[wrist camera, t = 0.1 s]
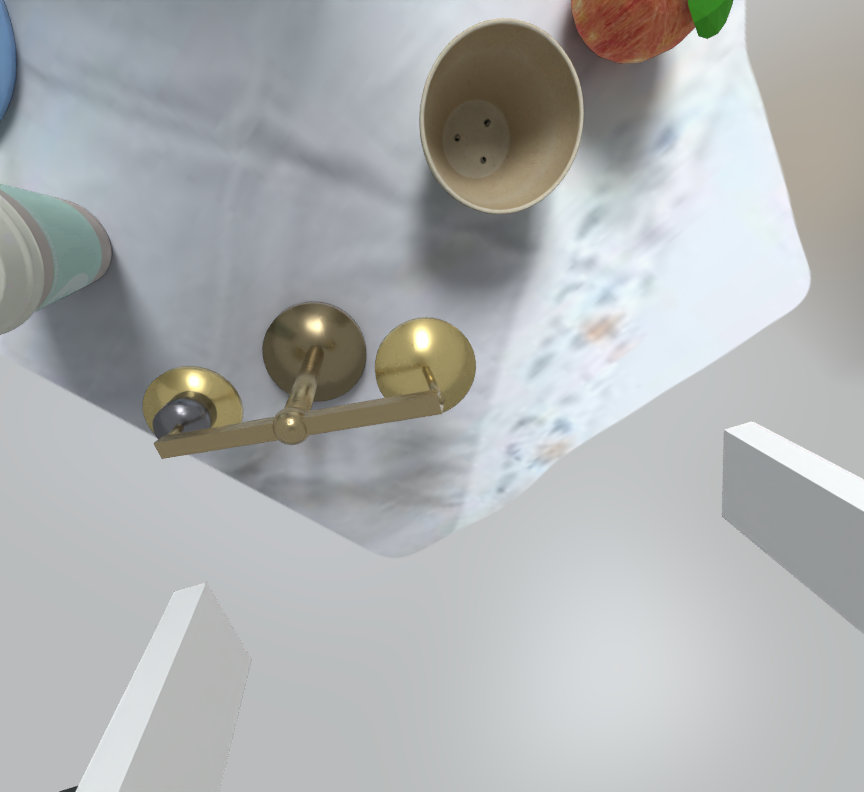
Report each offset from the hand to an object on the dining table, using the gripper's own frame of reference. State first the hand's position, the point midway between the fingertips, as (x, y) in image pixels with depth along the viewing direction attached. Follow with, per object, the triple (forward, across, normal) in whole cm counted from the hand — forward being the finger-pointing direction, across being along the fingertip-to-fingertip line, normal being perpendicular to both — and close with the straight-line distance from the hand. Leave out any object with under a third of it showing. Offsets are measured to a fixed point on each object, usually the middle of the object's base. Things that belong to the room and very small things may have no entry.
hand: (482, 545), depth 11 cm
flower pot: (+28, +9, +11) cm, 32 cm away
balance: (+28, -7, -1) cm, 29 cm away
